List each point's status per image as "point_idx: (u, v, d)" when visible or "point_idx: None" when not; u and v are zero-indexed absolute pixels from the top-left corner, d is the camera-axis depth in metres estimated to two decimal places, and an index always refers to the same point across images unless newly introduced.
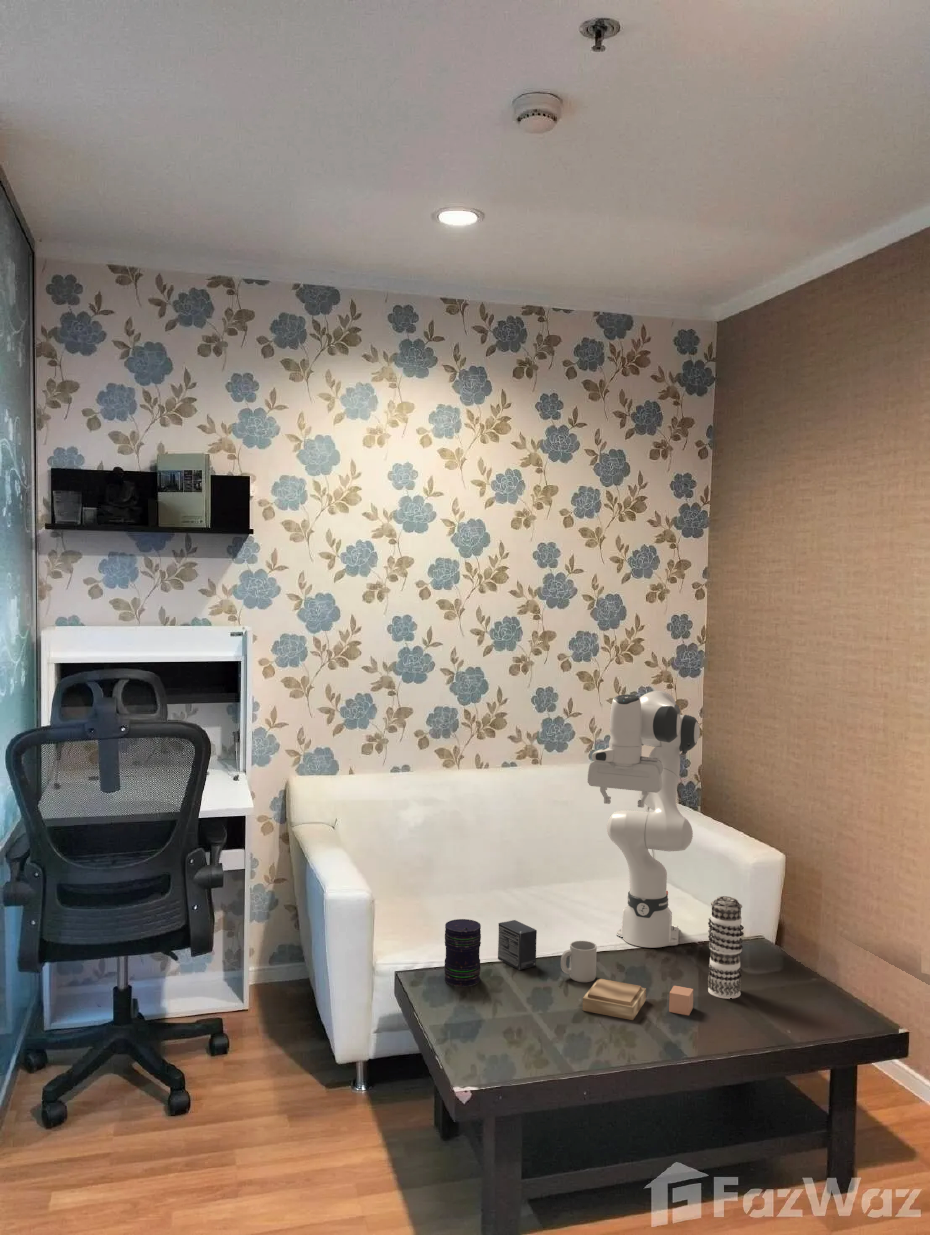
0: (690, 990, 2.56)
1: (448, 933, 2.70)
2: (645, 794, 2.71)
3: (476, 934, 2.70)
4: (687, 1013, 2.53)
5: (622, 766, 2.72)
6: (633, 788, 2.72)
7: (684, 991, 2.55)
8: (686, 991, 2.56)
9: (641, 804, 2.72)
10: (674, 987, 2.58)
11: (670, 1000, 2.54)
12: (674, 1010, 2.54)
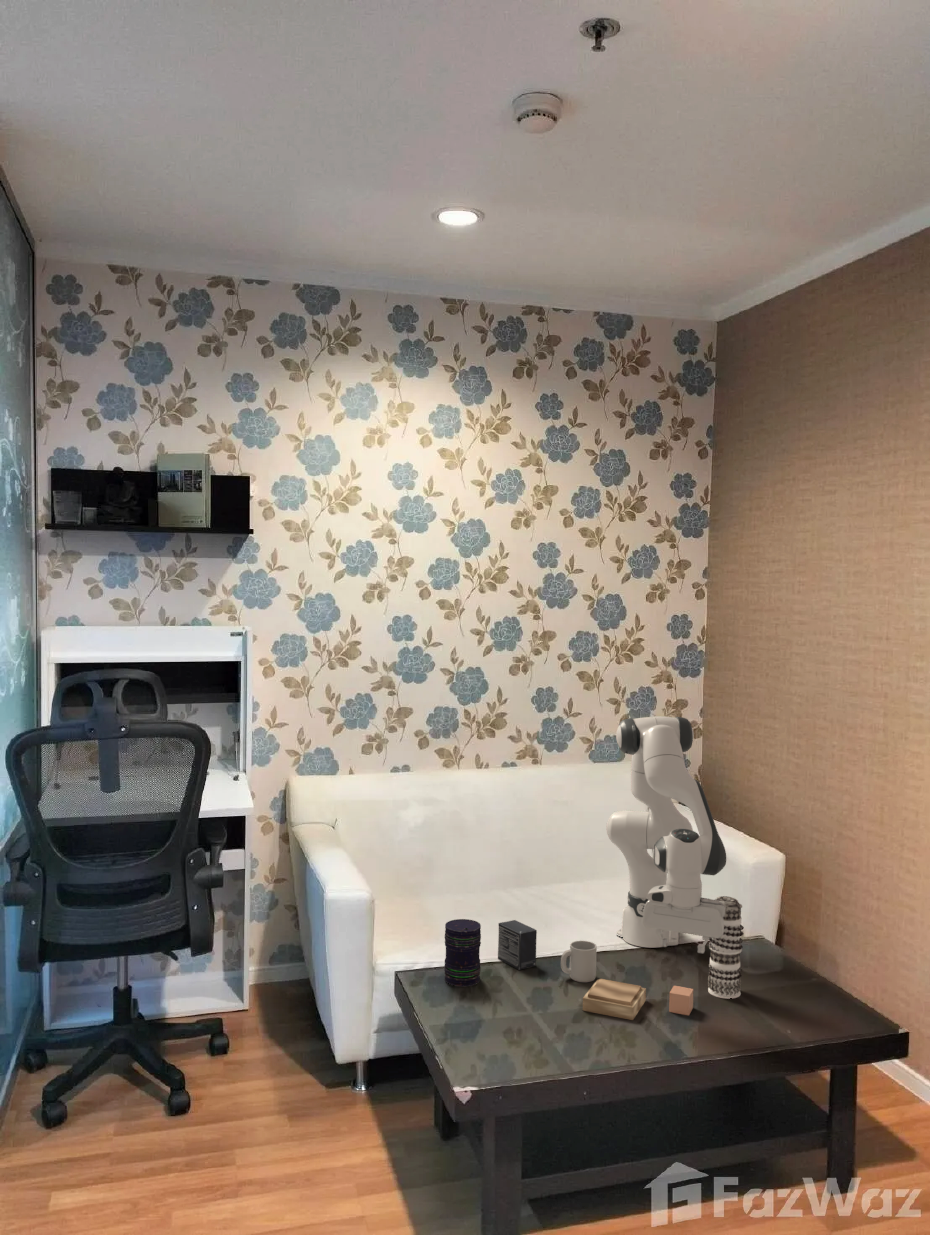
0: (690, 990, 2.56)
1: (448, 933, 2.70)
2: (706, 939, 2.52)
3: (476, 934, 2.70)
4: (687, 1013, 2.53)
5: (681, 909, 2.52)
6: (693, 932, 2.52)
7: (684, 992, 2.55)
8: (686, 991, 2.56)
9: (701, 950, 2.52)
10: (674, 987, 2.58)
11: (670, 1000, 2.54)
12: (674, 1010, 2.54)
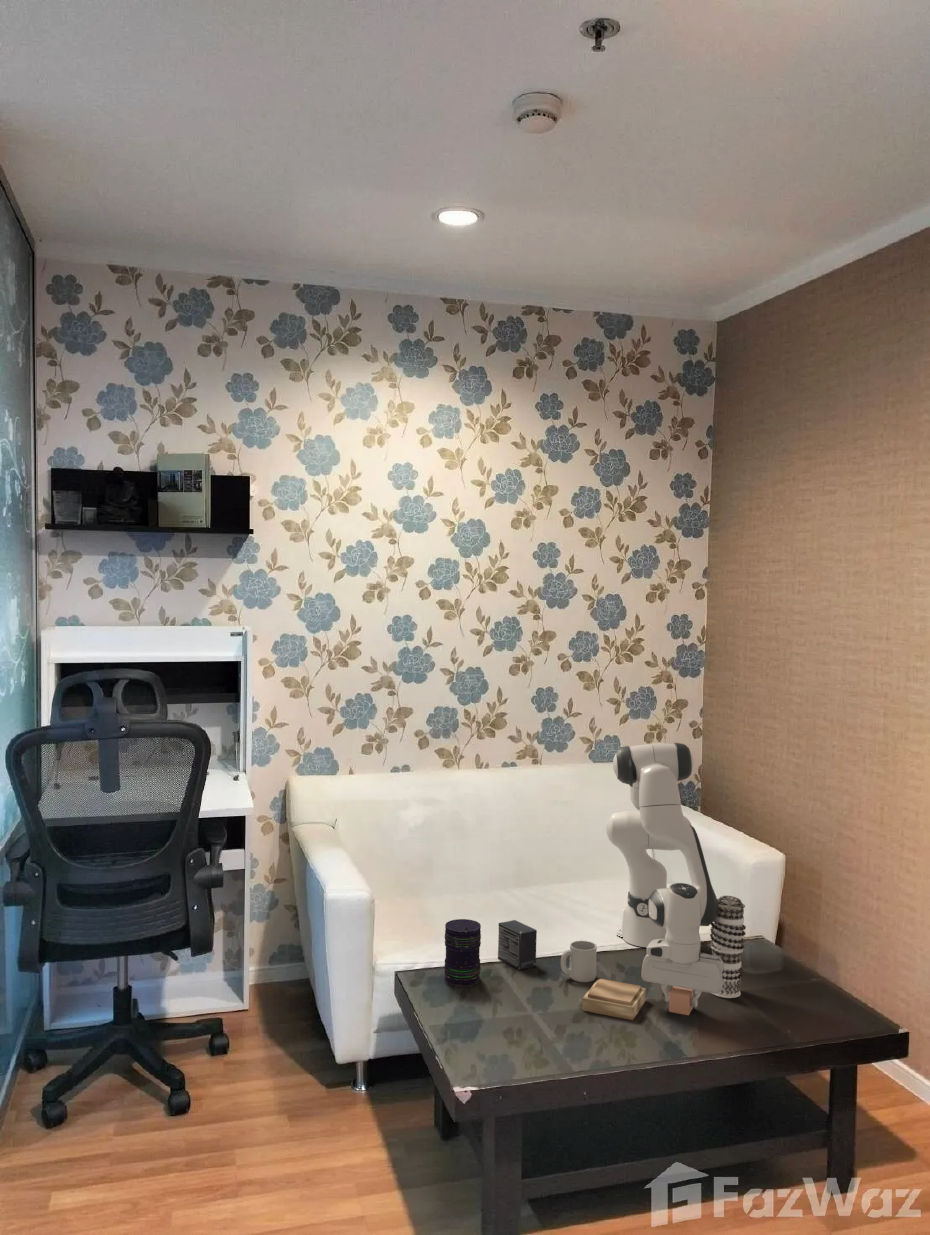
0: (690, 990, 2.56)
1: (448, 933, 2.70)
2: (699, 993, 2.53)
3: (476, 934, 2.70)
4: (687, 1013, 2.53)
5: (680, 964, 2.53)
6: (691, 987, 2.53)
7: (684, 991, 2.55)
8: (686, 990, 2.56)
9: (694, 1003, 2.54)
10: (674, 987, 2.58)
11: (670, 1000, 2.54)
12: (674, 1010, 2.54)
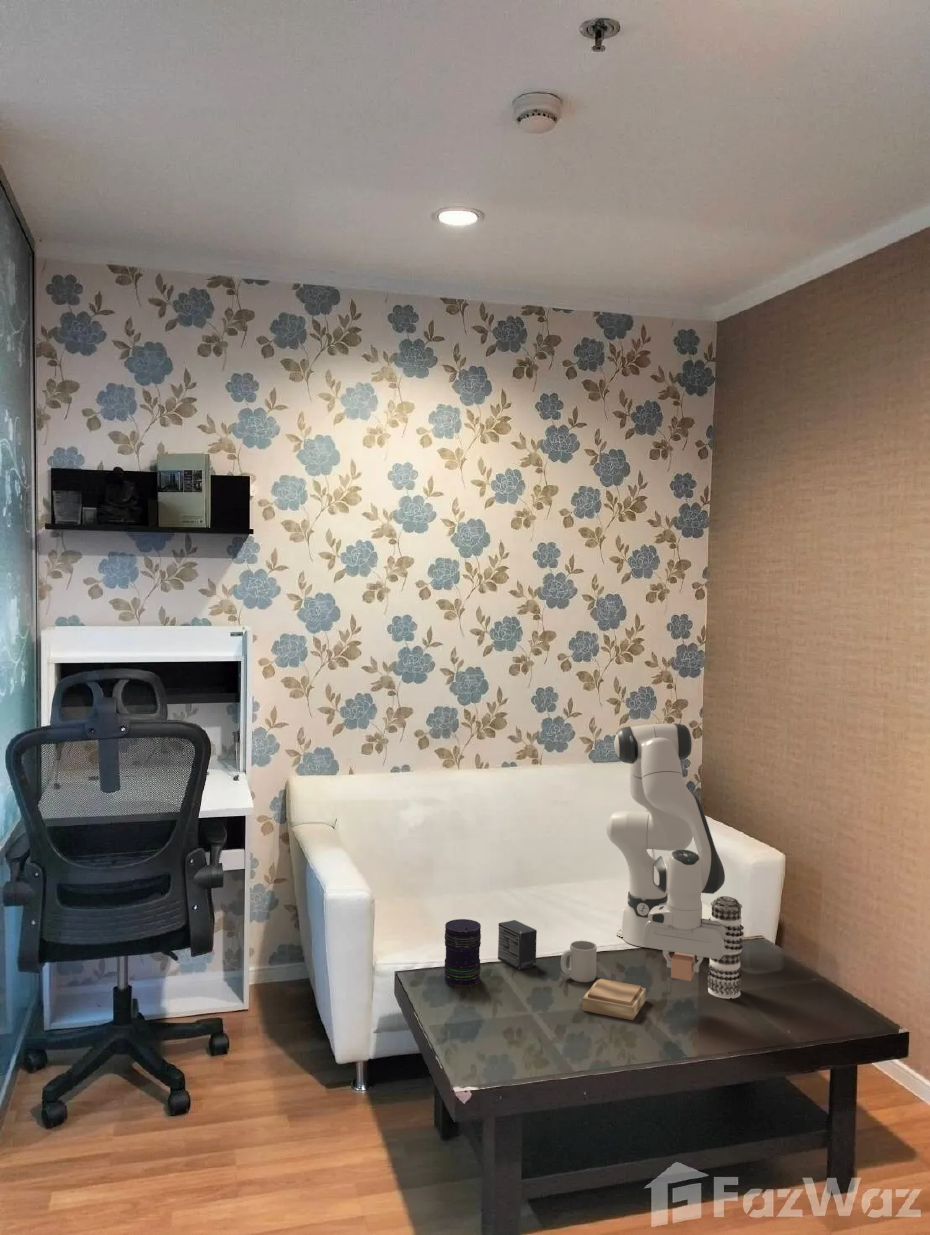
0: (692, 955, 2.56)
1: (448, 933, 2.70)
2: (700, 959, 2.53)
3: (476, 934, 2.70)
4: (689, 978, 2.53)
5: (681, 930, 2.52)
6: (693, 953, 2.53)
7: (686, 957, 2.55)
8: (688, 956, 2.56)
9: (696, 969, 2.54)
10: (676, 953, 2.58)
11: (672, 966, 2.55)
12: (676, 975, 2.54)
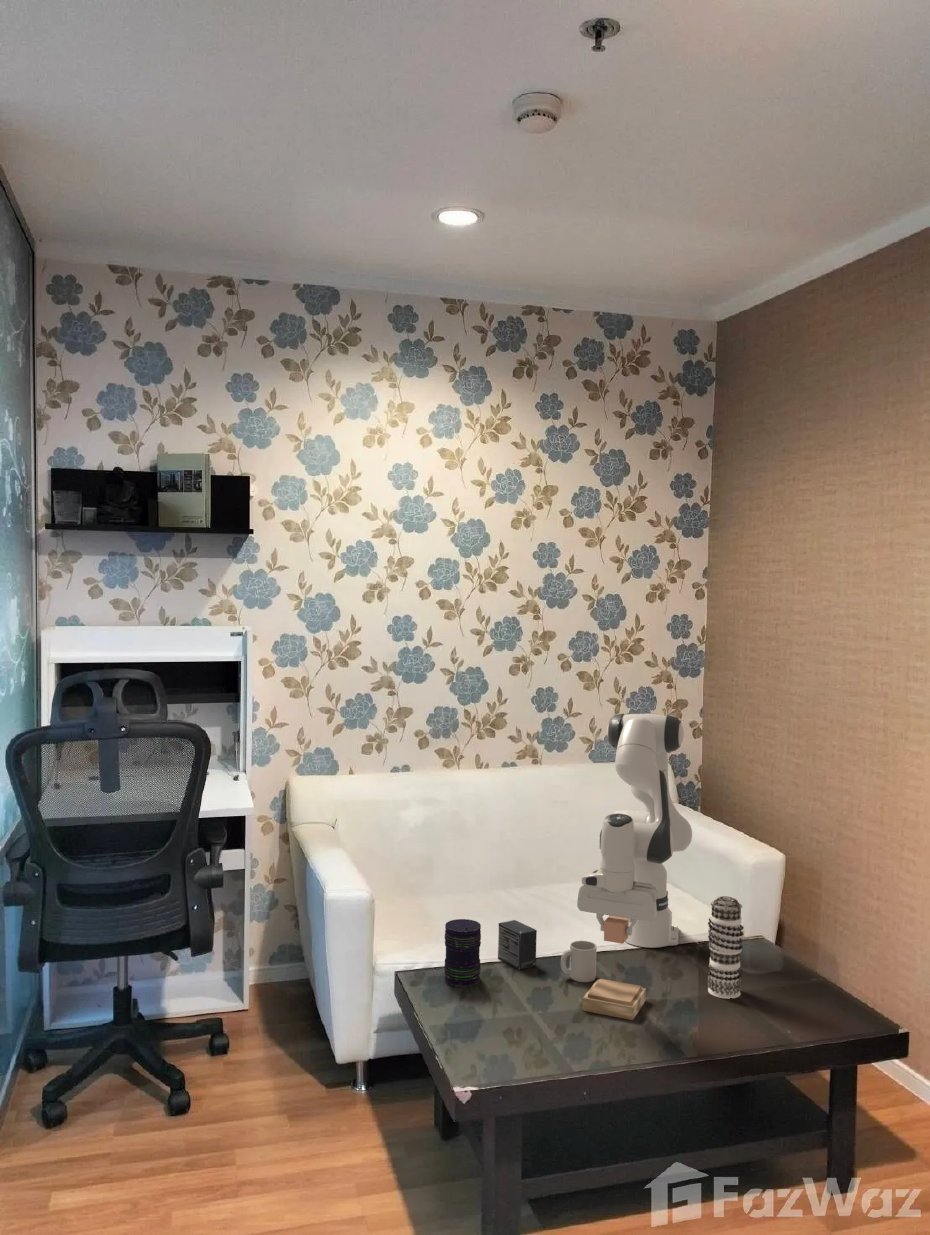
0: (625, 919, 2.57)
1: (448, 933, 2.70)
2: (633, 922, 2.54)
3: (476, 934, 2.70)
4: (621, 941, 2.54)
5: (614, 892, 2.54)
6: (626, 916, 2.54)
7: (619, 920, 2.56)
8: (621, 920, 2.57)
9: (629, 932, 2.55)
10: (610, 916, 2.59)
11: (605, 929, 2.56)
12: (609, 938, 2.55)
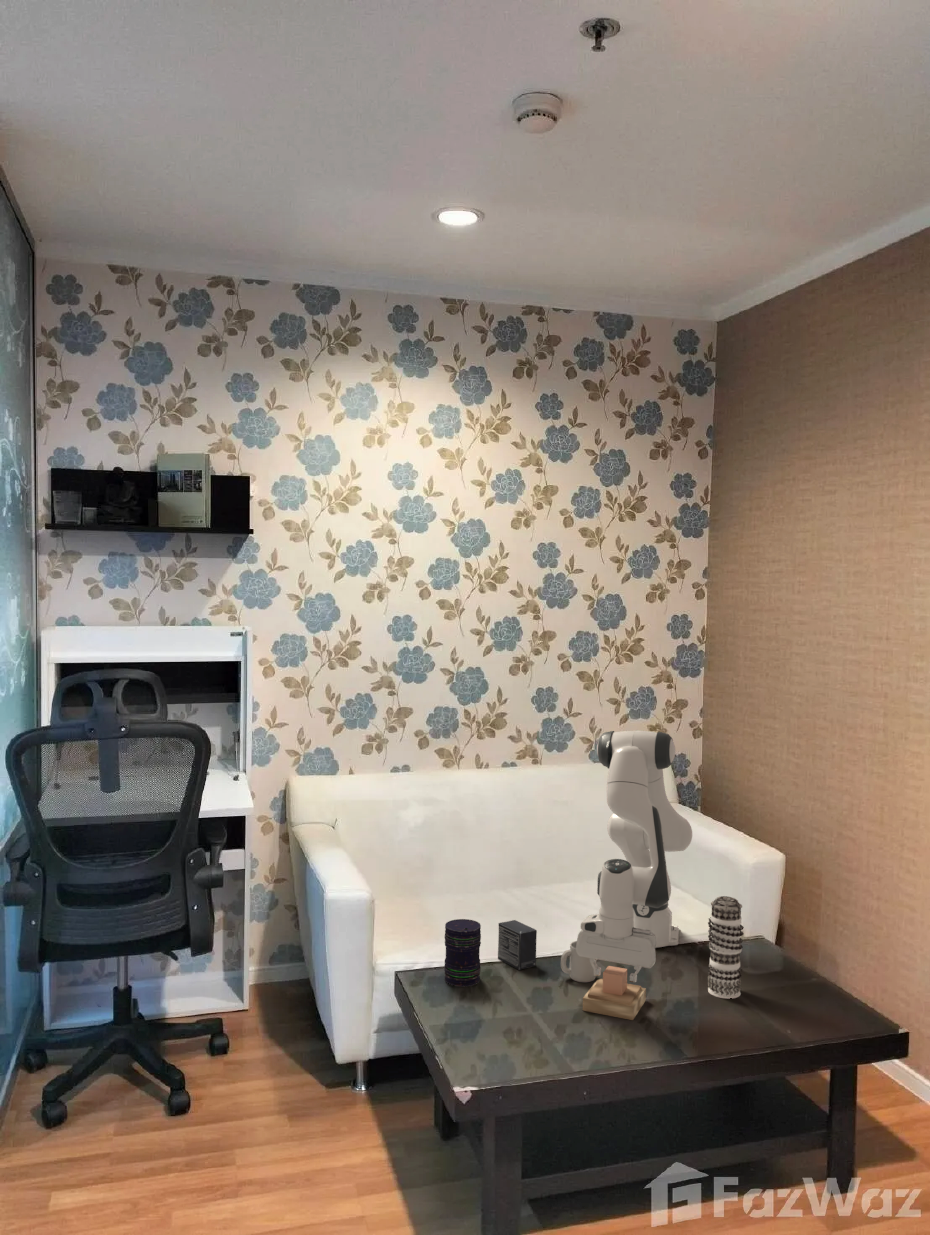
0: (624, 970, 2.58)
1: (448, 933, 2.70)
2: (637, 969, 2.54)
3: (476, 934, 2.70)
4: (620, 993, 2.55)
5: (613, 939, 2.54)
6: (625, 962, 2.55)
7: (618, 971, 2.57)
8: (620, 971, 2.58)
9: (633, 979, 2.55)
10: (608, 967, 2.60)
11: (603, 980, 2.56)
12: (607, 990, 2.56)
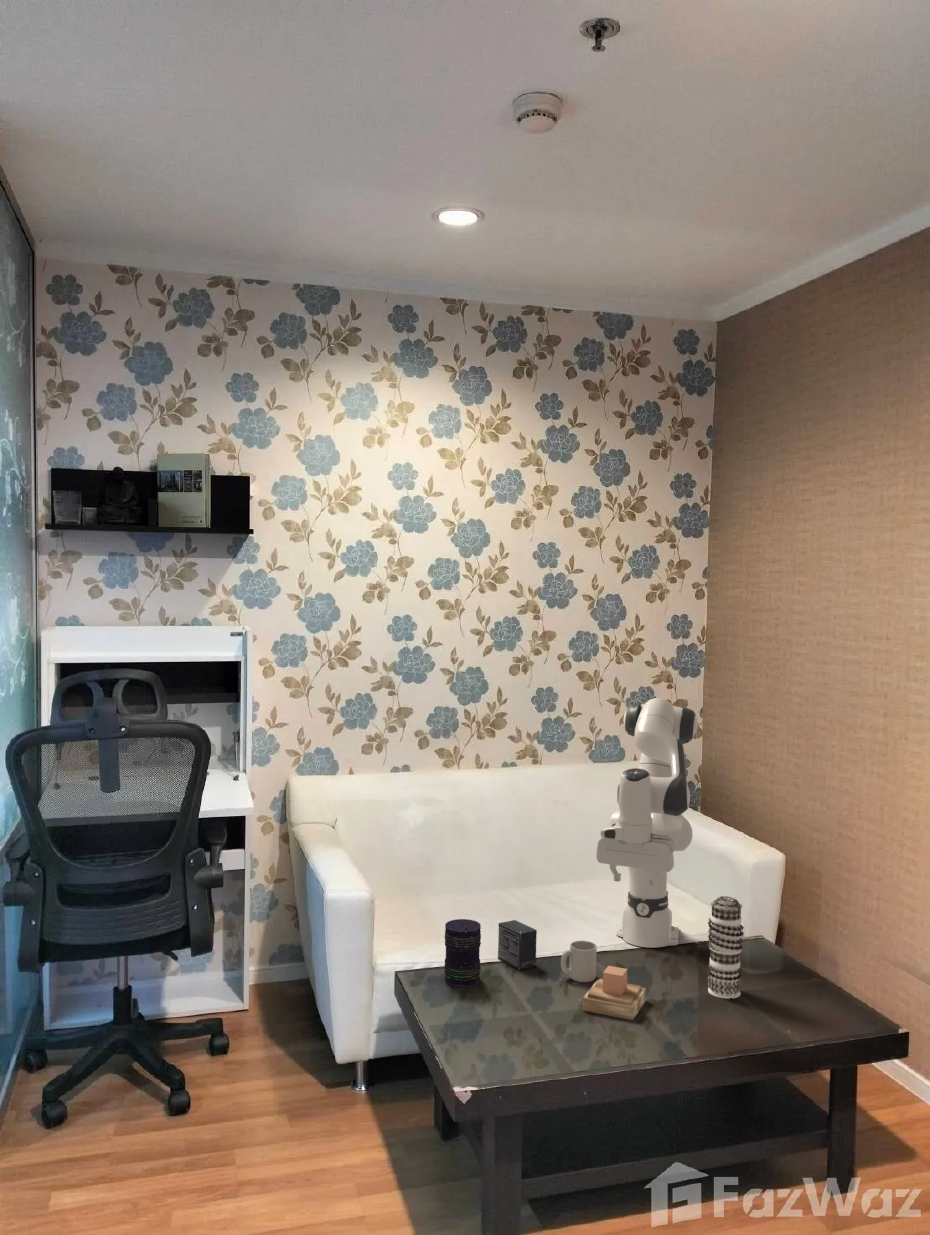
0: (624, 970, 2.58)
1: (448, 933, 2.70)
2: (656, 873, 2.61)
3: (476, 934, 2.70)
4: (620, 993, 2.55)
5: (632, 845, 2.61)
6: (644, 867, 2.62)
7: (618, 971, 2.57)
8: (620, 971, 2.58)
9: (652, 883, 2.62)
10: (608, 967, 2.60)
11: (603, 980, 2.56)
12: (607, 990, 2.56)
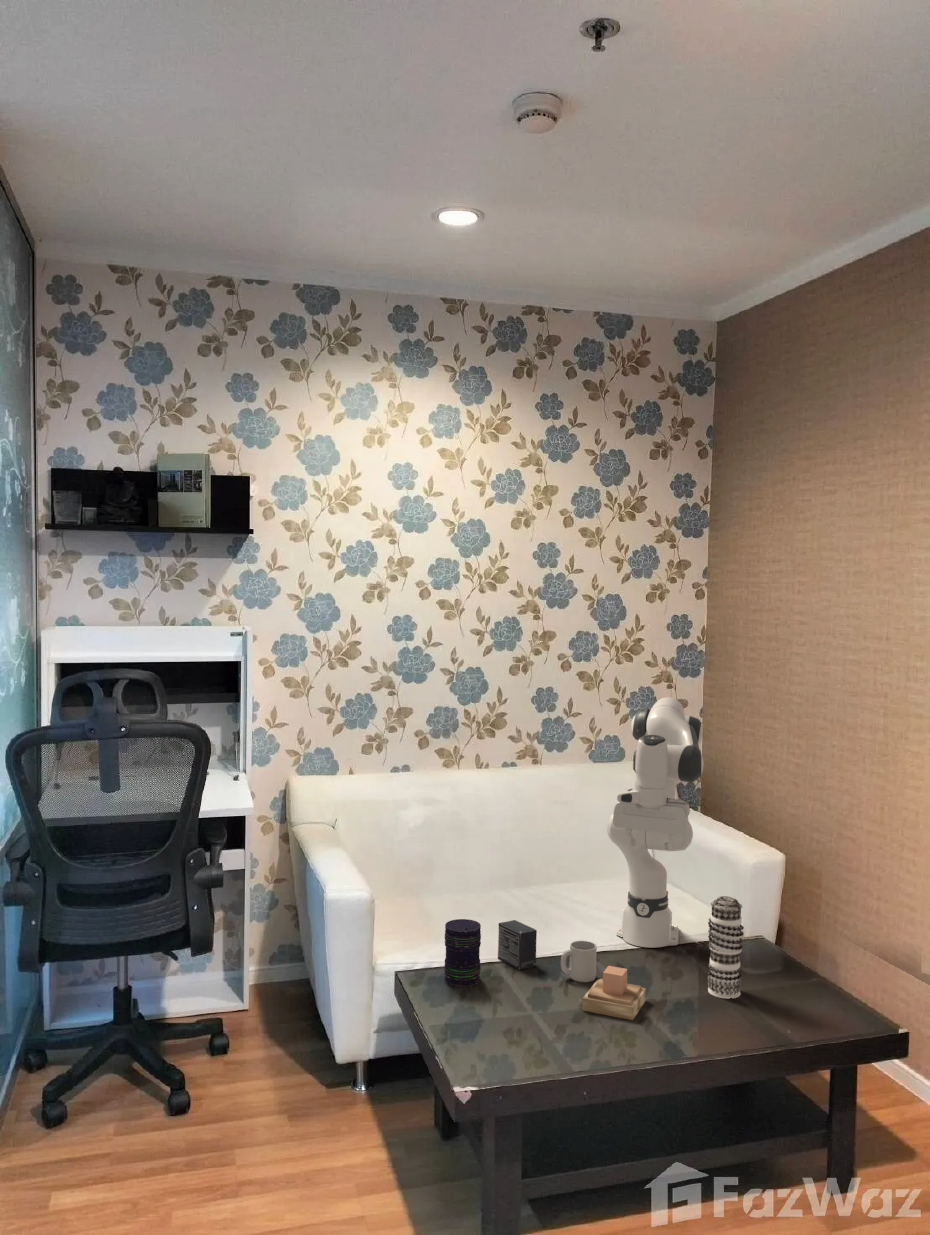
0: (624, 970, 2.58)
1: (448, 933, 2.70)
2: (672, 836, 2.68)
3: (476, 934, 2.70)
4: (620, 993, 2.55)
5: (648, 808, 2.68)
6: (659, 830, 2.68)
7: (618, 971, 2.57)
8: (620, 971, 2.58)
9: (667, 847, 2.68)
10: (608, 967, 2.60)
11: (603, 980, 2.56)
12: (607, 990, 2.56)
